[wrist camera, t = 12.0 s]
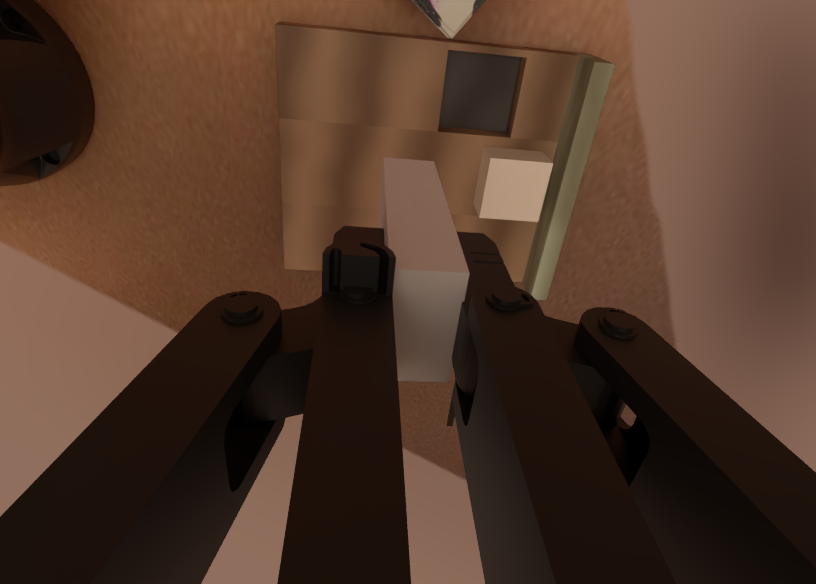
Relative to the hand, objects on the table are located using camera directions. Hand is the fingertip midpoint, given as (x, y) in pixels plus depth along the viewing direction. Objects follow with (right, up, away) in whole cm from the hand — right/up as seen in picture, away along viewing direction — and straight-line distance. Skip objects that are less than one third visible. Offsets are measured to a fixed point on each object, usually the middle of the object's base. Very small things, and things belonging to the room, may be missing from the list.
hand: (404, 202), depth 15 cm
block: (+9, +7, +27) cm, 30 cm away
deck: (+2, +8, +29) cm, 30 cm away
